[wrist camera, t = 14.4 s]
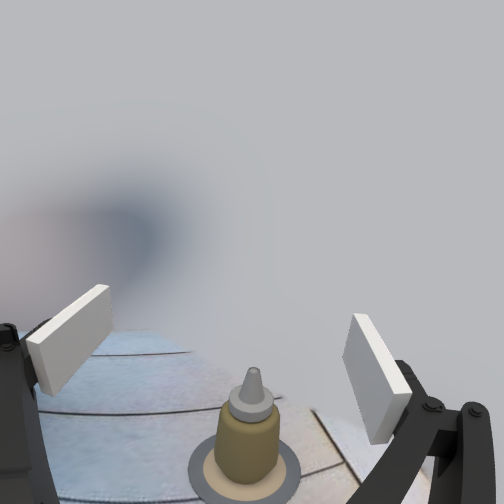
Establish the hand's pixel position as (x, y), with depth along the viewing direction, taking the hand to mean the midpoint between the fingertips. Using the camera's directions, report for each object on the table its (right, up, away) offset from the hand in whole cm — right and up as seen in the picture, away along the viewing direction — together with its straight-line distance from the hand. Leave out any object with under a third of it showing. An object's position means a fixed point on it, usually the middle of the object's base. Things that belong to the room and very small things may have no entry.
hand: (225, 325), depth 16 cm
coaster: (0, -26, +19) cm, 32 cm away
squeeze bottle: (0, -25, +18) cm, 31 cm away
